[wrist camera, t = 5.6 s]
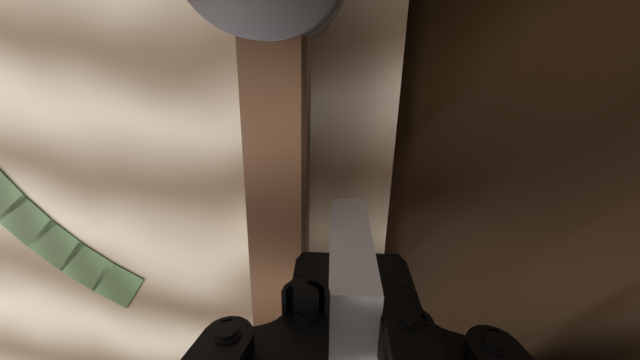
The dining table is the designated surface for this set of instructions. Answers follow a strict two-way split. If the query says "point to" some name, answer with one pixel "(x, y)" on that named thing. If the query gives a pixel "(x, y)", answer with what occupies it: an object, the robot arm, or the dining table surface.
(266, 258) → the gauge needle
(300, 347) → the robot arm
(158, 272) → the gauge board
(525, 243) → the dining table surface
